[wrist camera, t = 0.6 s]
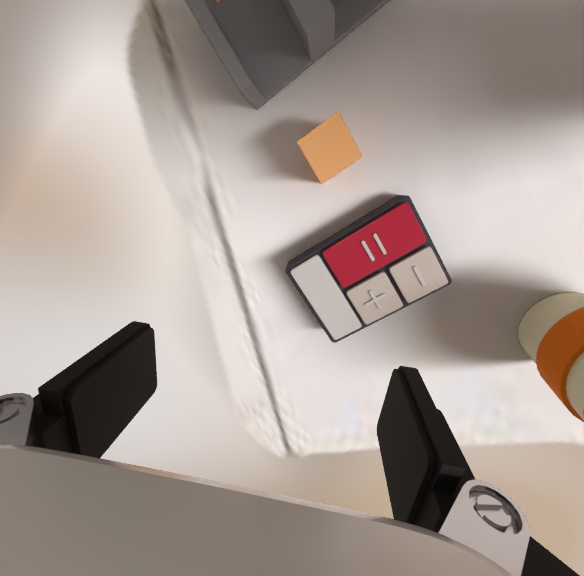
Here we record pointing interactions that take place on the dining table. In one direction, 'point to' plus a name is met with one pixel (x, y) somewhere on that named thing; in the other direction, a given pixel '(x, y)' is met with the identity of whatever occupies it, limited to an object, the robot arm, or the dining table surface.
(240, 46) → the grey slotted rack
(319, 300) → the calculator
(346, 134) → the tan tall block
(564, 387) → the reusable coffee cup
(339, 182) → the dining table surface
